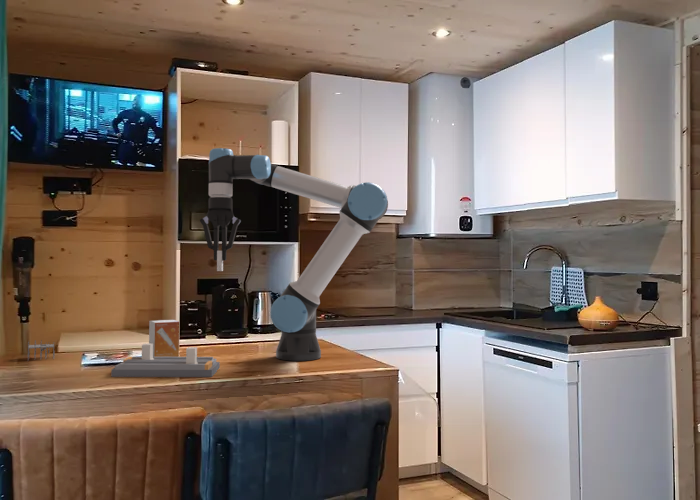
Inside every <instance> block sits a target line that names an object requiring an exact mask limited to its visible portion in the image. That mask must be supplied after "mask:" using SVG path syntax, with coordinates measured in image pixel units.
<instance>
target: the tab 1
mask: <svg viewBox="0 0 700 500" xmlns="http://www.w3.org/2000/svg"><path fill="white" fill-rule="evenodd" d="M141 357H142V359H149V360H154V358H153V344H150V343H149V342H148V343H143V344H141Z"/></svg>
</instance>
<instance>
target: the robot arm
mask: <svg viewBox="0 0 700 500" xmlns="http://www.w3.org/2000/svg"><path fill="white" fill-rule="evenodd" d="M239 179H240V180H241V179H242V180H250V181H252V182H254V183H255V184H258V185H260V186H261V185H264V186H266V187H271V188H275V189H277V190H280V191H284V192H287V193H290V194H293V195H297V196H300V197H304V198H306V199H310V200H313V201H315V202H316V201H317V202H320V203H324V204H326V205H330V206H333V207H336V208H339V212H338V213H339V220H338V222H337V223H336V224H335V226H334V227H333V229H332V230H331V232H330V233H329V234H328V236H327V237H326V238H325V239H324V242H323V243H322V245H320V247H319V249H318V250H317V252H316V253H315V254H314V256H313V258H312V259H311V261H310V262H309V263H308V264H307V266H306V267H305V268H304V270H303V272H302V273H301V274H300V276H299V278H298V279H297V280H296V281H295V280H294V281H290V282H289V284H287V286H286V288H284V289H283V290H281V291H282V292H281V295H280V296H278V297H277V298H276V299H275V300H274V301H273V303H272V304H271V308H270V313H269V314H270V320H271V322H272V324H273V325H274V327H276V328H277V329H278V330H280V331H281V334H280V335H281V336H280V338H279V340H278V341H279V342H278V344H277V348H276V351H275V358H276V359H278V360H283V361H293V362H294V361H295V362H297V361H298V362H300V361H301V362H305V361H313V360H314V361H315V360H318V359H321V357H322V350H321V347H320V344H319V341H318V337H317V309H318V308H319V306H320V304H321V300H320V296H321V295H322V293H323V292H324V291H325V289H326V288H327V286H328V284H329V283H330V282H331V280H332V279H333V277H334V276H335V274H336V273H337V272H338V270H339V269H340V267H341V266H342V265H343V263H344V262H345V260H346V258H347V257H348V256H349V254H350V253H351V251H352V250H353V249H354V248H355V246H356V245H357V243H358V242H359V240H360V239H361V237H363V235H364V234H365V235H366V234H370V233H371V232H372V230H373V229H374V227H375V226H376V225H377V223H378V221H380V220H381V219H382V218H383V217H384V216H386V213H387V211H388V209H389V201H388V196H387V194H386V191H385V190H384V188H382V187H381V186H380V185H378V184H377V183H373V182H367V181H366V182H362V183H359V184H357V185H354V184H351V185H349V186H347V185H343V184H340V183H336V182H333V181H331V180H327V179H323V178H320V177H316V176H313V175H309V174H307V173H303V172H299V171H296V170H294V169H290V168H285V167H283V166H280V165H279V166H278V165H276V164H273V163H271V160H270V157H269V156H268V155H267V154H266V155H263V154H261V155H260V154H250V155H249V154H246V155H244V154H243V155H237V154H236V155H235V154H234V151H233V150H232V149H230V148H221V147H217V148H216V147H215V148H211V150H210V151H209V157H208V196H209V198H208V211H207V213H206V215H205V216H204V217H202V218H200V219H199V222H200V224H201V225H202V227H203V231H204V237H205V240H206V245H207V249H211V250H213V260H214V261H216V271H217V272H223V271H224V261H227V251H228V250H230V249H232V248H233V246H234V241H235V238H236V233H237V230H238V226H239V225H240V223H241V222H242V220H241V219H239V218H238V217H235V215H234V211H233V203H234V202H233V198H232V197H233V191H234V190H233V188H234V187H233V184H234V183H233V180H239ZM209 222H210V223H211V224H212V225H213V240H212V236H211V231H210V228H209V227H210V226H209ZM230 223H232V224H233V225H232V228H231V231H230V236H229V239H228V238H227V237H228V226H229V224H230ZM220 227H221V250H220V249H219V246H220V245H219V243H220V240H219V238H220Z"/></svg>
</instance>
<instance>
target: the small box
mask: <svg viewBox="0 0 700 500" xmlns="http://www.w3.org/2000/svg"><path fill="white" fill-rule="evenodd" d="M148 322H149V324H148V328H149V329H148V333H149V334H148V343H150V344H153V357H180V356H179V355H180V321H178V320H176V319H158V320H149V321H148Z"/></svg>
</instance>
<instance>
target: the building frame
mask: <svg viewBox="0 0 700 500" xmlns="http://www.w3.org/2000/svg"><path fill="white" fill-rule="evenodd" d="M42 341H43V340H42V339H41V340H40V344H37V340H34V344H30V341H28V342H27V361H29V359H30V356H31V355H30V354H31V353H30V349H34V355H33V357H34V359H36V358H37V357H36V354H37V350H36V349H40V353H39V357H40V360H42V356H43V351H44V350H45V353H44V358H45V360H47V357H48V356H47V355H48V354H50V348H55V343H53V344H50V343H45V344H42V343H43V342H42ZM47 348H48V349H47ZM47 351H48V352H47ZM52 351H53V352H52V357H53V359H55V355H56V353H55V349H53V350H52Z"/></svg>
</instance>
